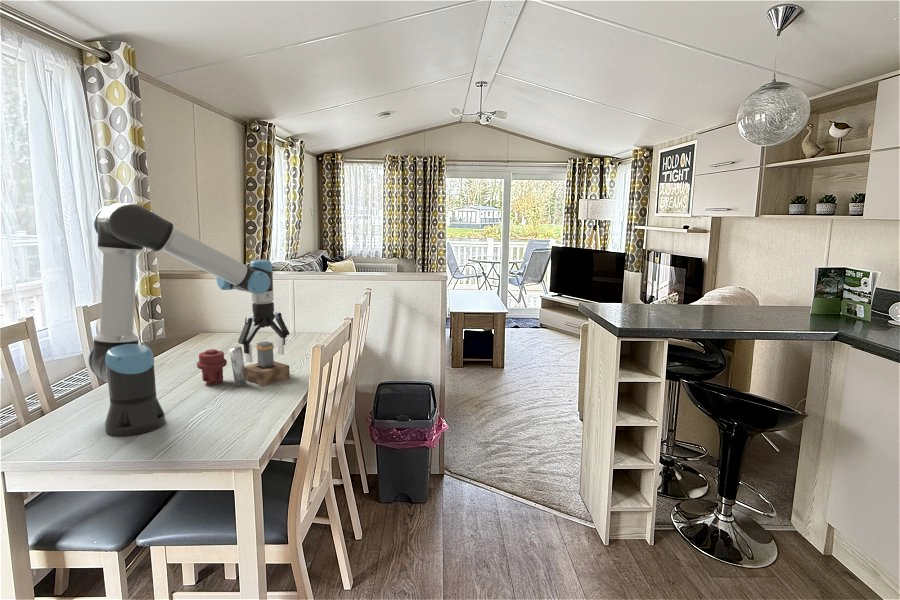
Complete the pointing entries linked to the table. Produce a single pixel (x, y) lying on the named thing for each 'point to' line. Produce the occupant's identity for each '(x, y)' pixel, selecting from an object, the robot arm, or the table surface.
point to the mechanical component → (212, 366)
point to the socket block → (267, 374)
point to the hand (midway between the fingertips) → (265, 357)
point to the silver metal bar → (238, 366)
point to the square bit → (265, 355)
